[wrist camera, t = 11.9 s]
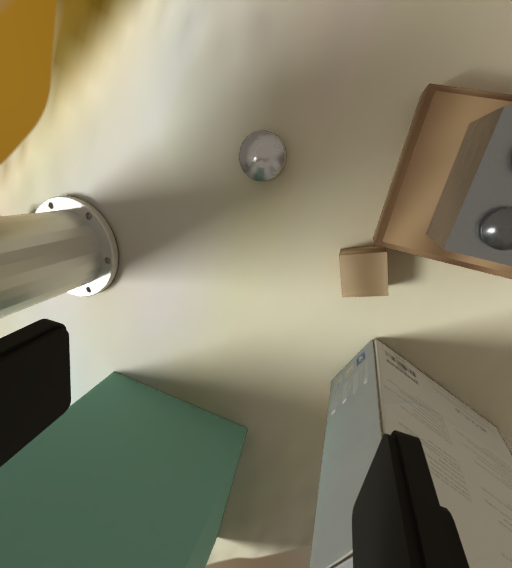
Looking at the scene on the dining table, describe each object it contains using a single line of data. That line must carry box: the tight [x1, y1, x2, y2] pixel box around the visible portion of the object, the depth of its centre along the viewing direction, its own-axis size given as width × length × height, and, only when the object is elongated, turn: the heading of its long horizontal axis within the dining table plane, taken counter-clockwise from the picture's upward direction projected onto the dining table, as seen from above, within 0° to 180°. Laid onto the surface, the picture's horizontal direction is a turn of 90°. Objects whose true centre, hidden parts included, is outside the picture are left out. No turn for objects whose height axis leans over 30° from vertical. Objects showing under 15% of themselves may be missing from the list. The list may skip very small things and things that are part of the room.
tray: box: [373, 84, 512, 279], centre depth 25 cm, size 12×12×4 cm
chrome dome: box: [239, 131, 286, 181], centre depth 31 cm, size 4×4×1 cm
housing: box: [426, 106, 512, 266], centre depth 20 cm, size 8×5×7 cm, turn 169°
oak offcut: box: [339, 246, 388, 297], centre depth 30 cm, size 4×4×3 cm
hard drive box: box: [309, 339, 512, 568], centre depth 25 cm, size 16×8×20 cm, turn 58°
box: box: [0, 372, 248, 568], centre depth 37 cm, size 23×21×26 cm
